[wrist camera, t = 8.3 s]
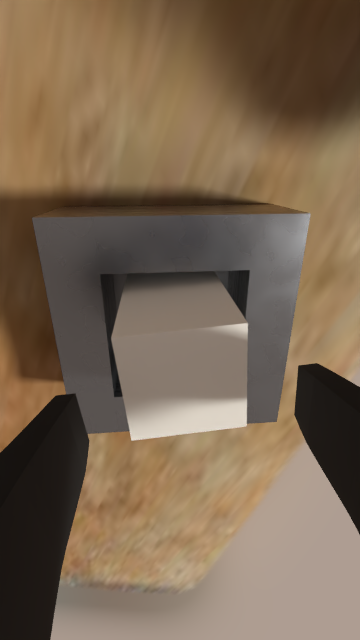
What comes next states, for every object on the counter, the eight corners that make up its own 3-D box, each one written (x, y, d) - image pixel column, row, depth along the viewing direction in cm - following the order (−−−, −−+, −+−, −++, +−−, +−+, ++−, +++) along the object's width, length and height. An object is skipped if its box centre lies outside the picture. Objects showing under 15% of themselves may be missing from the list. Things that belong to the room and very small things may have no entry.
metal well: (272, 204, 17) (310, 213, 13) (253, 374, 21) (276, 421, 17) (62, 206, 16) (31, 217, 12) (89, 383, 21) (74, 434, 17)
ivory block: (207, 261, 17) (247, 322, 10) (211, 331, 19) (246, 426, 12) (128, 269, 17) (111, 338, 10) (139, 339, 19) (131, 440, 12)
